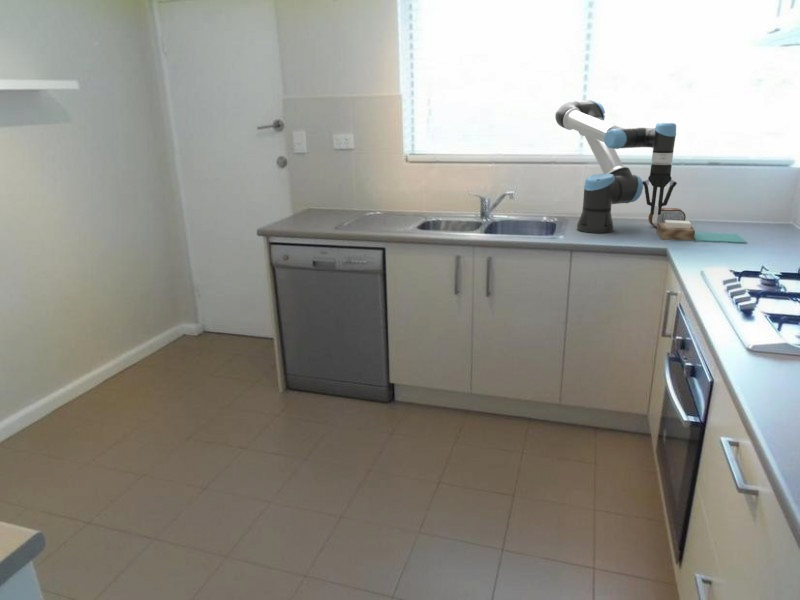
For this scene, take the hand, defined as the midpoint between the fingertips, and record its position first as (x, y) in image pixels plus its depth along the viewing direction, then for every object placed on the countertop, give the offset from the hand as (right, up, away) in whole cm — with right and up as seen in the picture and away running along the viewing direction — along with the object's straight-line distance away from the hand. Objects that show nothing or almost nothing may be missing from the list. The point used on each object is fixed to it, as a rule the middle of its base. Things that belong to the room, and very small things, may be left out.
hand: (654, 222), depth 235 cm
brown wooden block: (+8, -6, 0) cm, 10 cm away
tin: (+13, 0, +17) cm, 21 cm away
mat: (+23, -7, -5) cm, 24 cm away
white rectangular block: (+9, -2, -2) cm, 9 cm away
